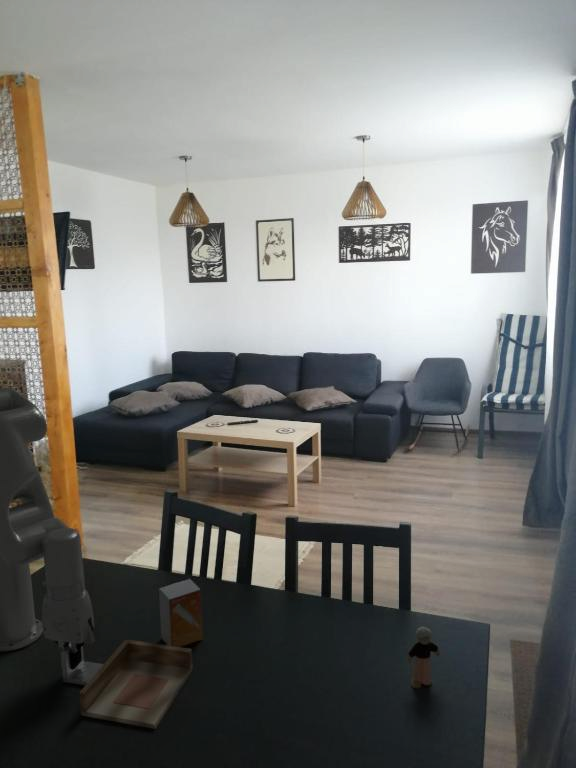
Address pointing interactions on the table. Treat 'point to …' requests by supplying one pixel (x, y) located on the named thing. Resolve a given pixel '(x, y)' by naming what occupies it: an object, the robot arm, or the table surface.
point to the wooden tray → (137, 683)
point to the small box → (181, 613)
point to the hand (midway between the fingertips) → (73, 664)
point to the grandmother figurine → (422, 657)
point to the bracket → (77, 668)
